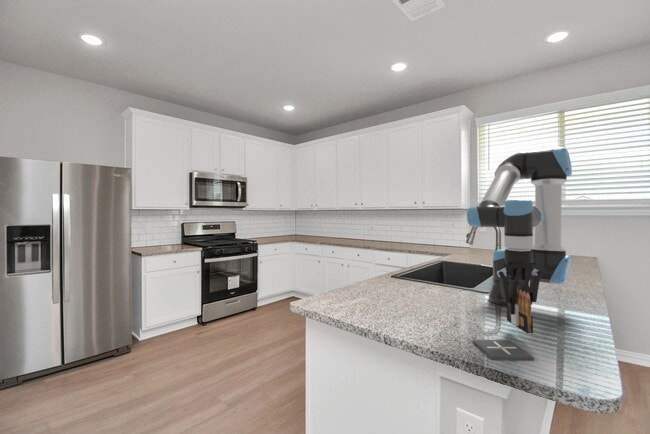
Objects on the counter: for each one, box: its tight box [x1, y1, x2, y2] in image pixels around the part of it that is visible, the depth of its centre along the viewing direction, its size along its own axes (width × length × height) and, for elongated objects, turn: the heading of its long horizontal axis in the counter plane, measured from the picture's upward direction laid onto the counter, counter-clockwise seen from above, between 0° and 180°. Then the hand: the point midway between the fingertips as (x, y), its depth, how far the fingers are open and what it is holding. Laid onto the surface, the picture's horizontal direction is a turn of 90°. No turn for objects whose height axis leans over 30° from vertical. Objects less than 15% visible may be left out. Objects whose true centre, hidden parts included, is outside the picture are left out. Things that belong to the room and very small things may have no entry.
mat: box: [472, 339, 535, 361], centre depth 86 cm, size 11×11×1 cm
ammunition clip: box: [506, 288, 534, 334], centre depth 95 cm, size 11×2×12 cm, turn 178°
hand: (519, 324), depth 95 cm, fingers closed on ammunition clip, 2 cm apart
